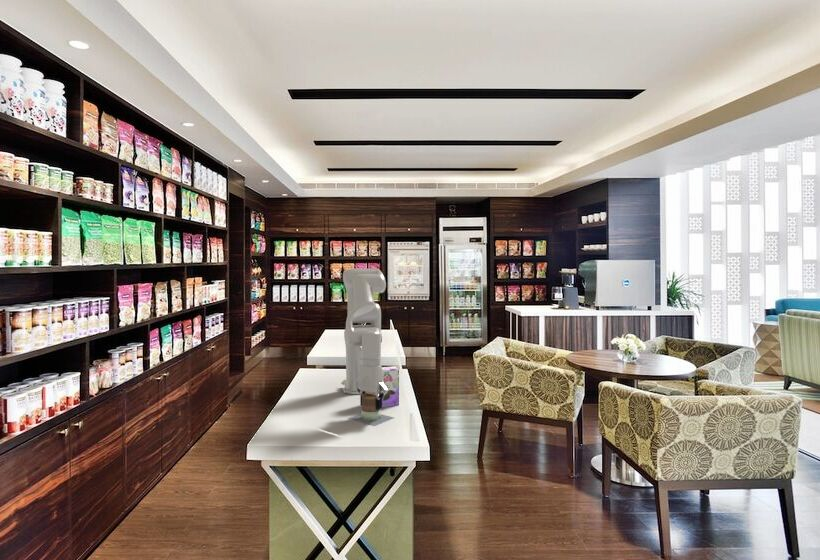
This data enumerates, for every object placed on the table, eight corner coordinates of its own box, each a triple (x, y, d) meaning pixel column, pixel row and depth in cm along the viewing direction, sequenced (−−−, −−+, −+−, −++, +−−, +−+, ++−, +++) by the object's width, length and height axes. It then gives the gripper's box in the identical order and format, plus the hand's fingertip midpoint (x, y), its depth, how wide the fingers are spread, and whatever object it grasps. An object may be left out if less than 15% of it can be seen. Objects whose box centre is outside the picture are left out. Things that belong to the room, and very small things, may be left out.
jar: (357, 418, 182) (357, 400, 182) (370, 413, 188) (370, 396, 188) (371, 422, 178) (371, 404, 177) (384, 417, 184) (384, 399, 183)
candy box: (367, 409, 196) (367, 370, 195) (365, 405, 202) (365, 367, 201) (399, 406, 200) (399, 368, 199) (396, 402, 205) (396, 365, 205)
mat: (347, 419, 182) (347, 418, 182) (368, 412, 192) (368, 410, 192) (374, 427, 174) (374, 426, 174) (394, 419, 184) (394, 417, 184)
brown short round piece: (357, 409, 182) (357, 394, 182) (370, 405, 188) (370, 390, 188) (371, 413, 178) (371, 397, 177) (384, 408, 184) (384, 393, 183)
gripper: (348, 360, 184) (348, 405, 185) (381, 366, 174) (381, 413, 175) (361, 357, 190) (361, 400, 191) (394, 363, 180) (394, 408, 181)
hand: (371, 406), depth 183 cm, fingers closed on brown short round piece, 7 cm apart
